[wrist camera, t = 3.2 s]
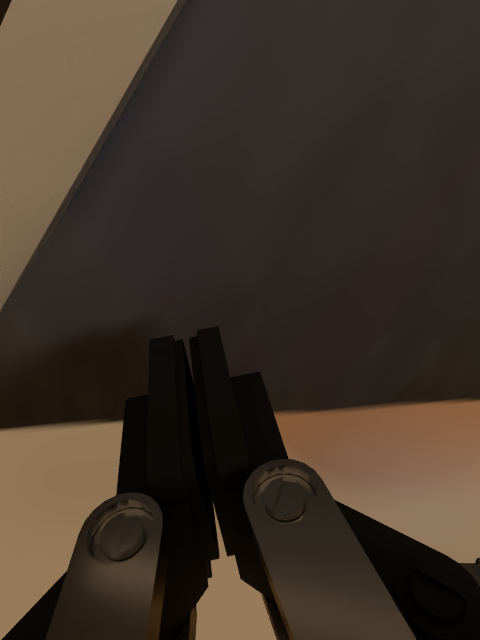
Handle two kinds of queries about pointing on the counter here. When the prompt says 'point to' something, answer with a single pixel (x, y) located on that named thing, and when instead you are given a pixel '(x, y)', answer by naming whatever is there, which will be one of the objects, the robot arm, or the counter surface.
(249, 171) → the counter surface
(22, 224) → the open leaf
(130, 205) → the counter surface
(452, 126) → the counter surface
